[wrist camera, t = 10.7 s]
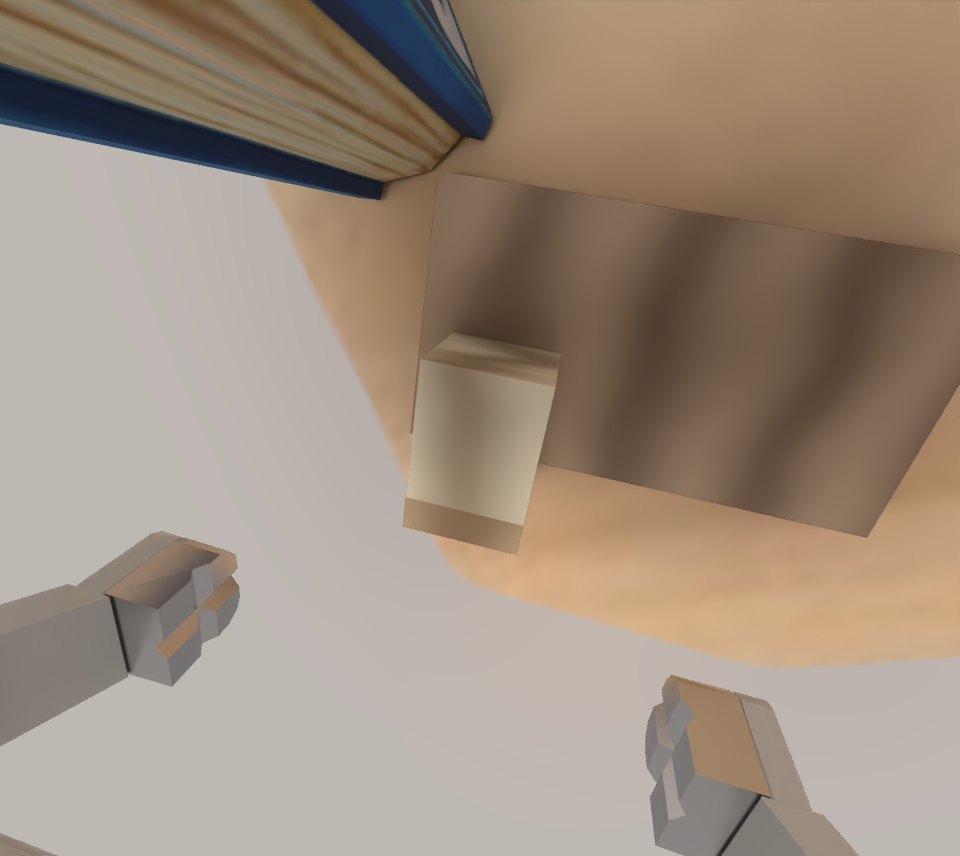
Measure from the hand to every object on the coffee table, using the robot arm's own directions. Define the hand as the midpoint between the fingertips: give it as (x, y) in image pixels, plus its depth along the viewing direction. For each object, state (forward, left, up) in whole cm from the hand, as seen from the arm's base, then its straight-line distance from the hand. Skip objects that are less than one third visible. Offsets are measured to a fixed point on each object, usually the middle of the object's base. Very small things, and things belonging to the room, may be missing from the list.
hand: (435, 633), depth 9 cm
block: (+1, +2, -17) cm, 17 cm away
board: (-6, -2, -17) cm, 19 cm away
